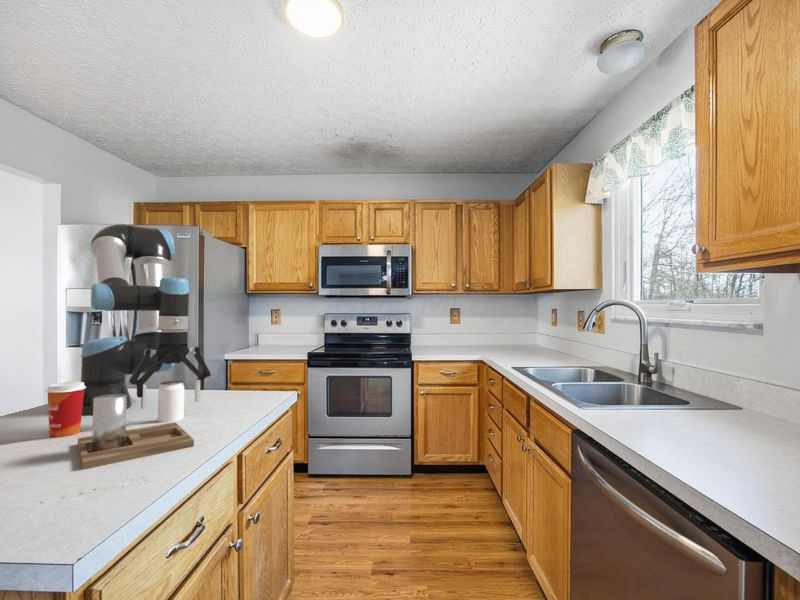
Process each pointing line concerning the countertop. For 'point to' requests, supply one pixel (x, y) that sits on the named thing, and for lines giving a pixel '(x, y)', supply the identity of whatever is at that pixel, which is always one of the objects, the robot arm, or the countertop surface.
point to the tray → (136, 445)
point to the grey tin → (109, 422)
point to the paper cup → (65, 408)
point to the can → (171, 401)
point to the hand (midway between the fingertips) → (171, 405)
